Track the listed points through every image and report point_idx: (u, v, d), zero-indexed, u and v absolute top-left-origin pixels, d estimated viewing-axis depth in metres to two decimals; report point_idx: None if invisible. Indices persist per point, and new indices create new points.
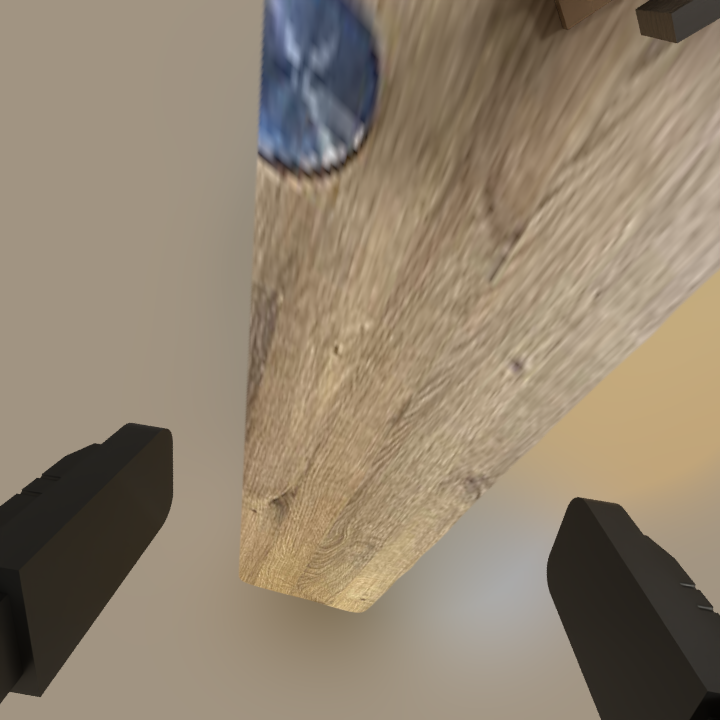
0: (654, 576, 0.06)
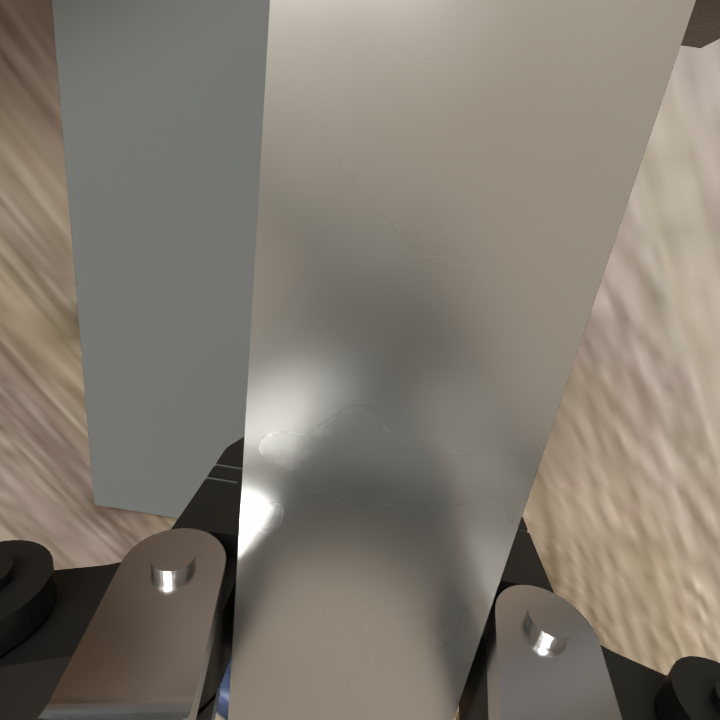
0: None
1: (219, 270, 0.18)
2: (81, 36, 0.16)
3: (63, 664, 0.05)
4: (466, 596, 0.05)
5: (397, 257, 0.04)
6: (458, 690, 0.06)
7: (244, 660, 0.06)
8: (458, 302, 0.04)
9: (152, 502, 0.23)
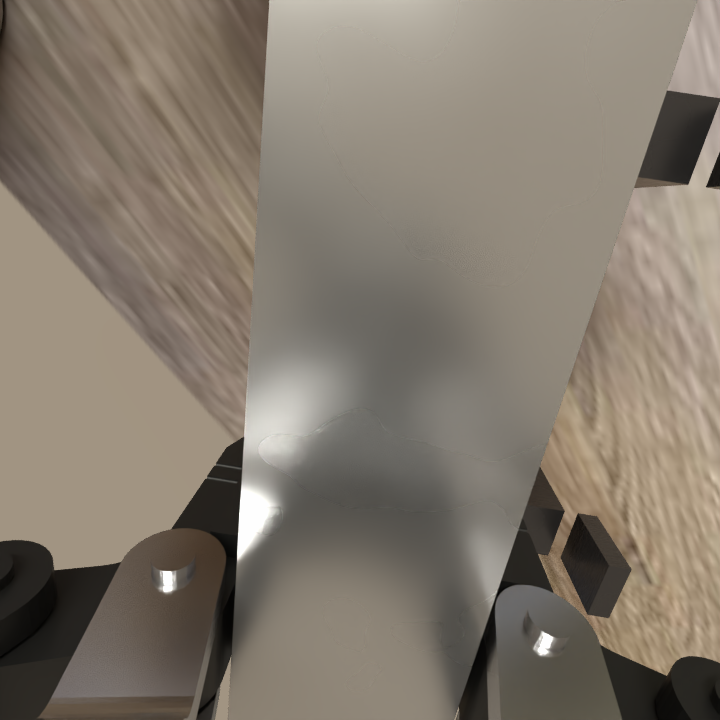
0: None
1: None
2: None
3: (63, 664, 0.05)
4: (466, 598, 0.05)
5: (398, 259, 0.04)
6: (458, 693, 0.06)
7: (244, 662, 0.06)
8: (457, 306, 0.04)
9: None
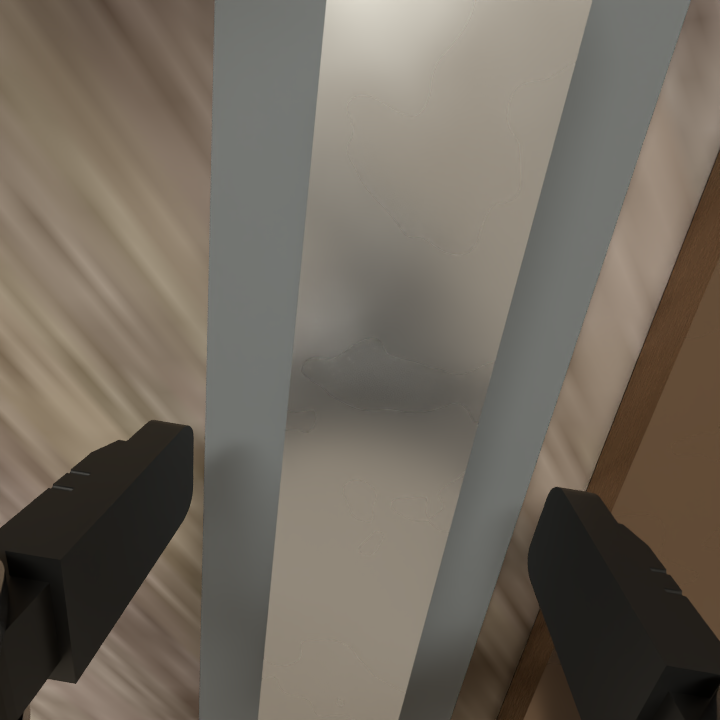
0: (624, 560, 0.07)
1: None
2: None
3: None
4: (444, 478, 0.07)
5: (395, 236, 0.06)
6: (440, 557, 0.08)
7: (285, 534, 0.08)
8: (434, 267, 0.06)
9: None
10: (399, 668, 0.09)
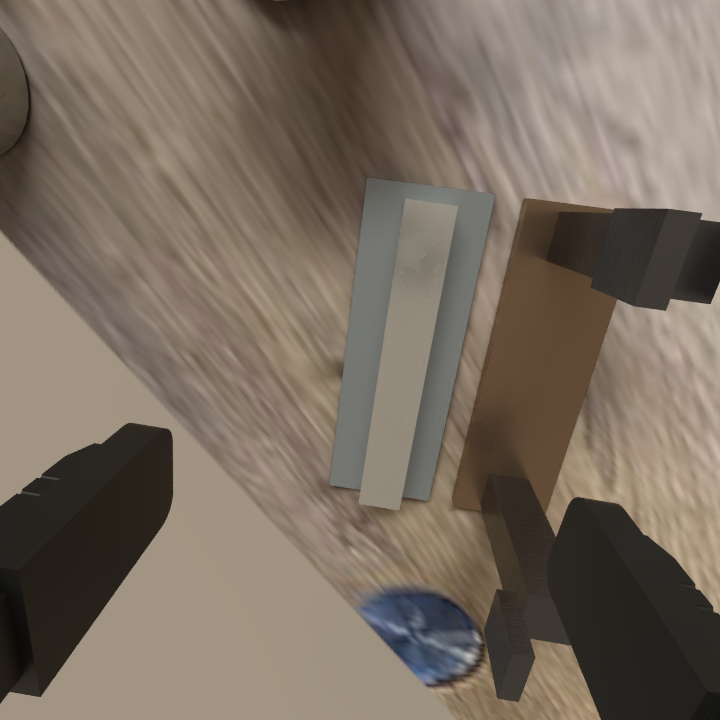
0: (654, 576, 0.06)
1: (439, 337, 0.30)
2: (378, 211, 0.28)
3: None
4: (424, 354, 0.27)
5: (411, 294, 0.26)
6: (424, 380, 0.28)
7: (381, 373, 0.28)
8: (420, 301, 0.26)
9: None
10: (413, 419, 0.29)
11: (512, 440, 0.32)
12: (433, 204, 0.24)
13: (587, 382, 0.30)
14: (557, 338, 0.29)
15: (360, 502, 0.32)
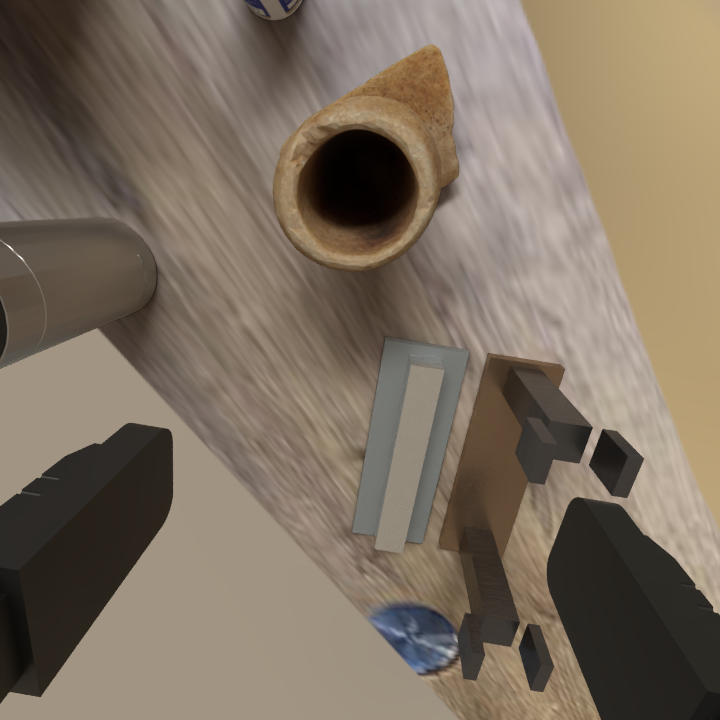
0: (654, 576, 0.06)
1: (431, 438, 0.44)
2: (392, 360, 0.42)
3: None
4: (421, 455, 0.42)
5: (413, 419, 0.40)
6: None
7: (392, 466, 0.42)
8: (419, 424, 0.41)
9: None
10: (413, 495, 0.43)
11: (480, 505, 0.46)
12: (429, 368, 0.39)
13: None
14: (510, 441, 0.44)
15: (375, 548, 0.46)
